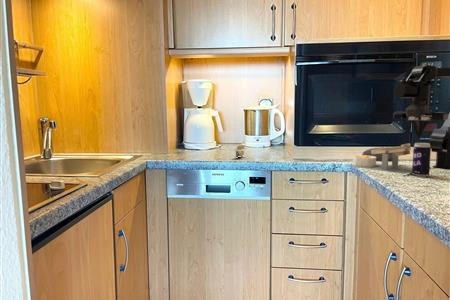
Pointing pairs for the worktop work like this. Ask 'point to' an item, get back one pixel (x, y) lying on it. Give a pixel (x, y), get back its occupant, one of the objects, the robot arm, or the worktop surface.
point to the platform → (240, 150)
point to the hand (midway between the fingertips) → (418, 137)
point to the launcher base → (386, 167)
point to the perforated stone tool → (378, 156)
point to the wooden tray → (394, 150)
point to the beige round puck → (364, 161)
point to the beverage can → (421, 159)
